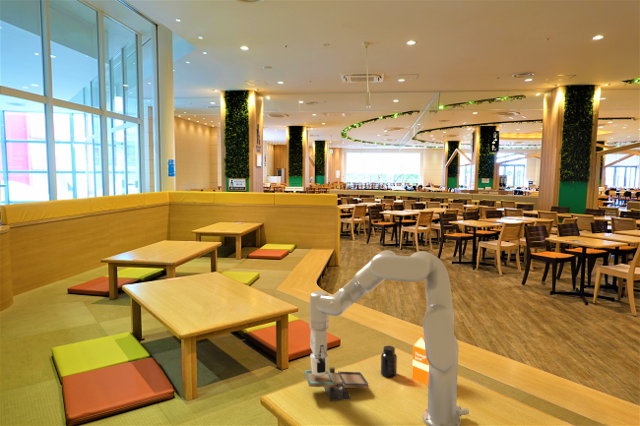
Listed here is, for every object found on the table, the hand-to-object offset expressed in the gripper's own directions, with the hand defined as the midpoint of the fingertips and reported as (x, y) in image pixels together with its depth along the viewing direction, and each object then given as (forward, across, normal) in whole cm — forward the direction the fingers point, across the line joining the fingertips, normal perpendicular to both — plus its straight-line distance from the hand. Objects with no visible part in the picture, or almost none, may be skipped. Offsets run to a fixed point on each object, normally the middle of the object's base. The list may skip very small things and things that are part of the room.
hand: (319, 367), depth 151 cm
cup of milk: (+2, 0, 0) cm, 2 cm away
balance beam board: (+6, 0, +7) cm, 9 cm away
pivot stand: (+10, 0, +7) cm, 12 cm away
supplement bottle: (+11, -8, +33) cm, 35 cm away
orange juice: (+11, -1, +47) cm, 48 cm away
